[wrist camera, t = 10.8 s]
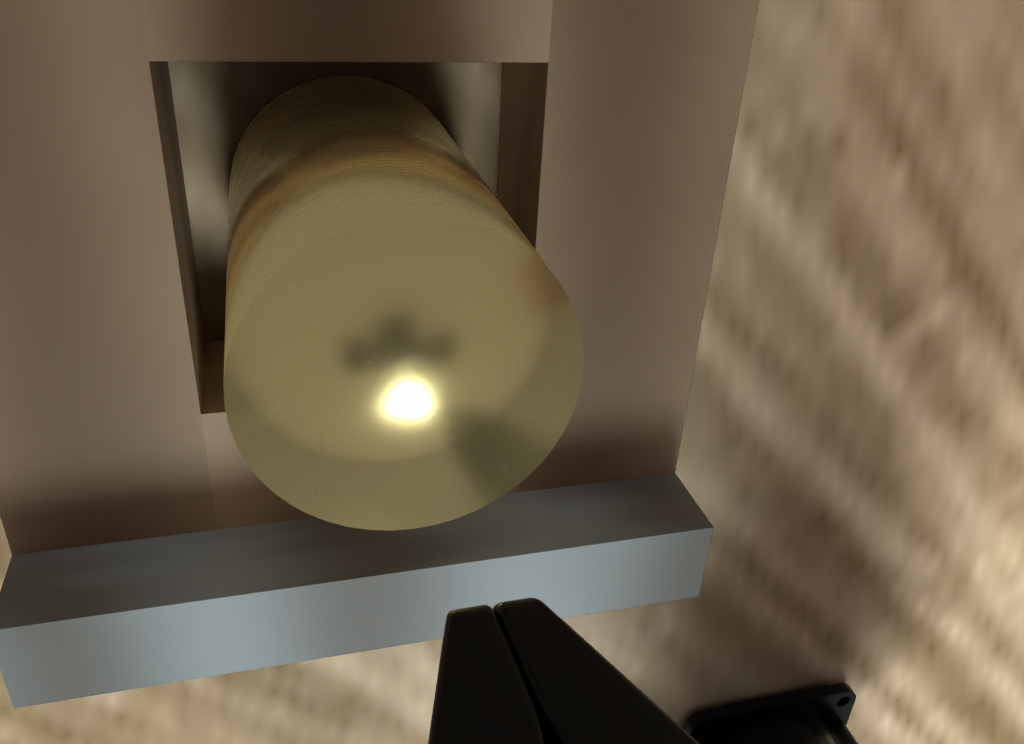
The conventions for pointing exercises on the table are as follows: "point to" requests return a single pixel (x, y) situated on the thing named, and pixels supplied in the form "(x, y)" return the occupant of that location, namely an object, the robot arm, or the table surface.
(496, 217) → the cylinder
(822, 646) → the table surface
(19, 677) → the jig
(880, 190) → the table surface
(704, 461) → the table surface
